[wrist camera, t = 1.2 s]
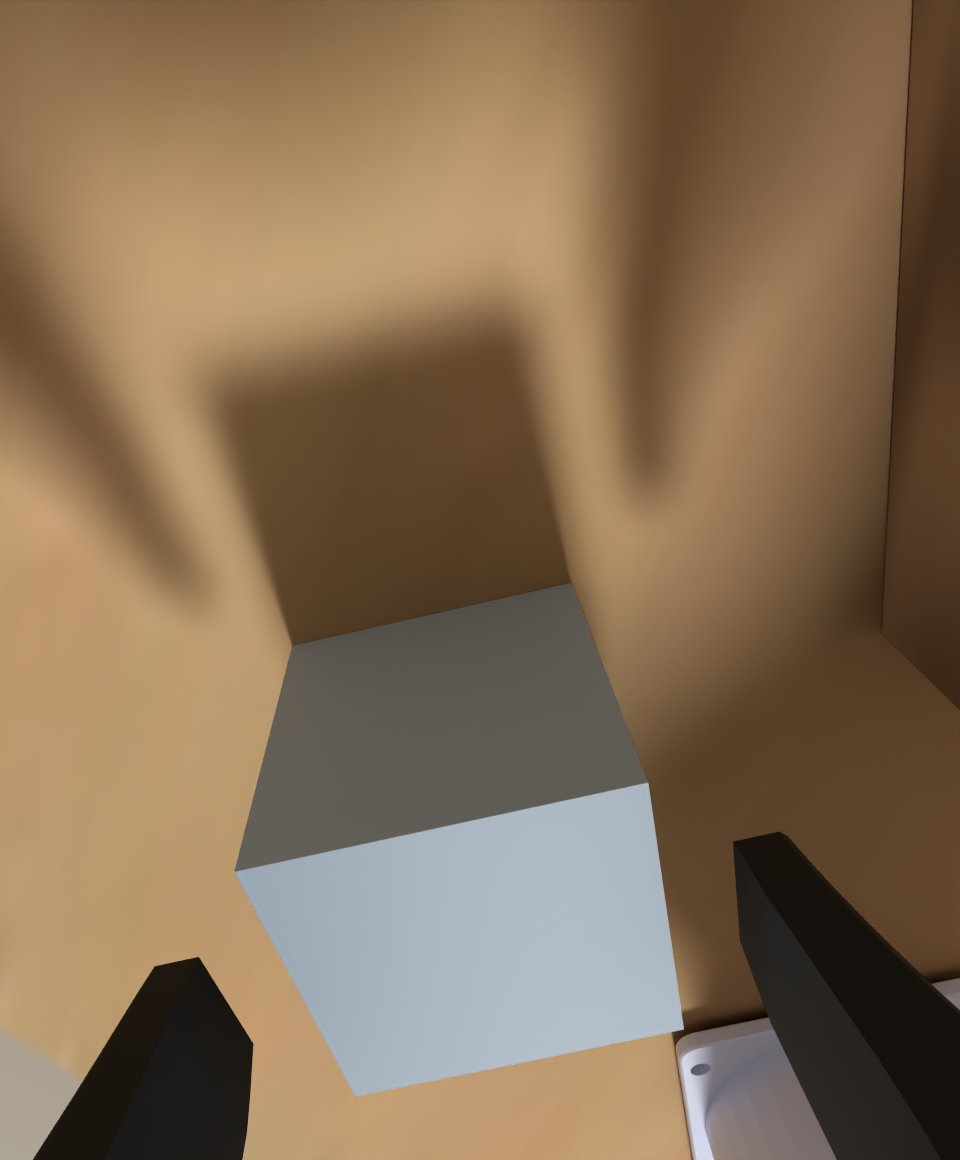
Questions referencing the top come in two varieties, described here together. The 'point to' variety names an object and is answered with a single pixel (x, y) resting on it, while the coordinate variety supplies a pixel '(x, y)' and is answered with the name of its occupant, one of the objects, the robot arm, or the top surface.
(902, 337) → the base
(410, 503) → the top surface
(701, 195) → the top surface
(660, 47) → the top surface
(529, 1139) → the top surface
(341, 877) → the cube
